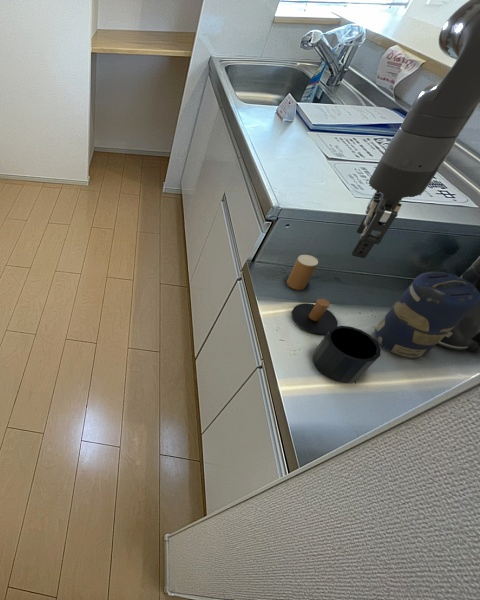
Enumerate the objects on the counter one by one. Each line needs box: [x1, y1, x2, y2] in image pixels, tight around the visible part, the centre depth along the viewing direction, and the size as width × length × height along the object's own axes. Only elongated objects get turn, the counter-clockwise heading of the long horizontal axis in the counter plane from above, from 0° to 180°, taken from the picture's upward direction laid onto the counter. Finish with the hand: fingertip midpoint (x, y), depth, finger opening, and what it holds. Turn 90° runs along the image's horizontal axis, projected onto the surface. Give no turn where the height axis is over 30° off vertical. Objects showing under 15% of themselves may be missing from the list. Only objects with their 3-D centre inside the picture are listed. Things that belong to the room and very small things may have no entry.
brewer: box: [312, 325, 382, 384], centre depth 70 cm, size 9×9×8 cm
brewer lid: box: [291, 298, 339, 335], centre depth 79 cm, size 9×9×6 cm
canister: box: [374, 271, 480, 358], centre depth 69 cm, size 10×10×18 cm
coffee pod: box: [286, 254, 319, 291], centre depth 88 cm, size 4×4×8 cm
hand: (360, 244), depth 66 cm, fingers open, 8 cm apart
